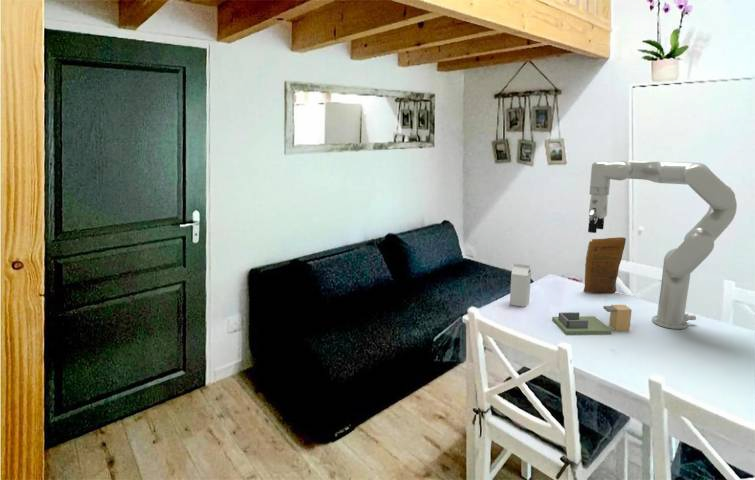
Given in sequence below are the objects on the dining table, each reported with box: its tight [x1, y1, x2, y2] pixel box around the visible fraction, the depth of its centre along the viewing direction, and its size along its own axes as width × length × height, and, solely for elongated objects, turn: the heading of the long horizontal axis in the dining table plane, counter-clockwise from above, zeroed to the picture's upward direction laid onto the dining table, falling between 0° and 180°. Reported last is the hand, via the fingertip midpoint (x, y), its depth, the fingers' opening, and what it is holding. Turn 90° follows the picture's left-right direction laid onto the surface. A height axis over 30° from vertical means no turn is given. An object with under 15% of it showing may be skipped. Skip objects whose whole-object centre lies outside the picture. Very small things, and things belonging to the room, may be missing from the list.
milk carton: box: [509, 263, 532, 308], centre depth 221 cm, size 7×7×19 cm
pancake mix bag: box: [583, 237, 627, 294], centre depth 234 cm, size 7×19×28 cm, turn 90°
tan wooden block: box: [603, 304, 633, 332], centre depth 194 cm, size 9×6×9 cm, turn 90°
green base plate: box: [551, 311, 613, 336], centre depth 195 cm, size 18×15×4 cm
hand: (595, 230), depth 206 cm, fingers open, 9 cm apart
